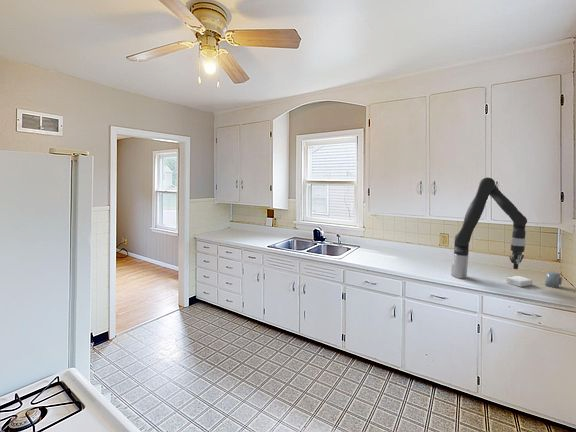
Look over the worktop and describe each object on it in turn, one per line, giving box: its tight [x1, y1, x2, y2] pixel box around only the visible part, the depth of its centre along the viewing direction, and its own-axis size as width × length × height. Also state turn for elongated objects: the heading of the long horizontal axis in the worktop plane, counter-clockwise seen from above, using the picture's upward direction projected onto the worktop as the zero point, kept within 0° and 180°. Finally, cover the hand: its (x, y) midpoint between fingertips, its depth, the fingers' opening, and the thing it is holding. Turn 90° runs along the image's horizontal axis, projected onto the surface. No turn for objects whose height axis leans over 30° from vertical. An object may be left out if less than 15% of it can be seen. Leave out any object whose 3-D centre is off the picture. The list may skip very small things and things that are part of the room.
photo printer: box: [506, 275, 534, 288], centre depth 208 cm, size 10×4×12 cm
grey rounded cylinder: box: [544, 271, 563, 289], centre depth 203 cm, size 8×7×9 cm
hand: (515, 268), depth 206 cm, fingers closed
